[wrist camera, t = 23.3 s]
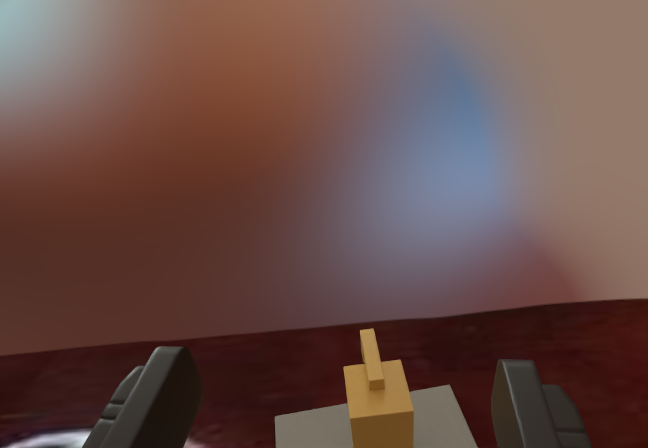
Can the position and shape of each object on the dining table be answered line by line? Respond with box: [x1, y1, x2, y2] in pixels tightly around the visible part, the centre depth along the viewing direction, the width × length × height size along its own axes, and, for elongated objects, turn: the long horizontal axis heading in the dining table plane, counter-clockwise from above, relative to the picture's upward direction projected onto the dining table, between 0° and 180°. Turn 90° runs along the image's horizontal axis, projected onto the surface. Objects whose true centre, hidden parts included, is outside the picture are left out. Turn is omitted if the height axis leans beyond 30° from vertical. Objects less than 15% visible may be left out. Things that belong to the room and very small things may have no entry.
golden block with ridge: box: [344, 329, 414, 448], centre depth 32 cm, size 4×6×11 cm, turn 4°
